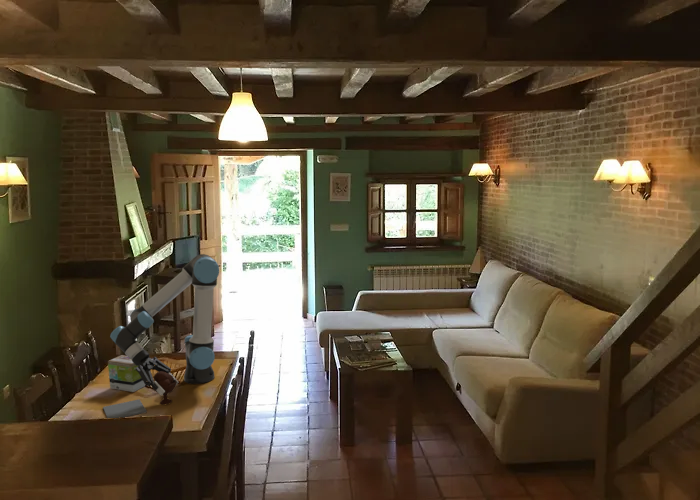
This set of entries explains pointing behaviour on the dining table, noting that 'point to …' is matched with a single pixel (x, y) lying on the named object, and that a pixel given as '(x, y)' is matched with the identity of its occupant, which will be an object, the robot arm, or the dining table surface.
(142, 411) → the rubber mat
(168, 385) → the ice cream bowl
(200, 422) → the dining table surface
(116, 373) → the tea box
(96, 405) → the dining table surface
